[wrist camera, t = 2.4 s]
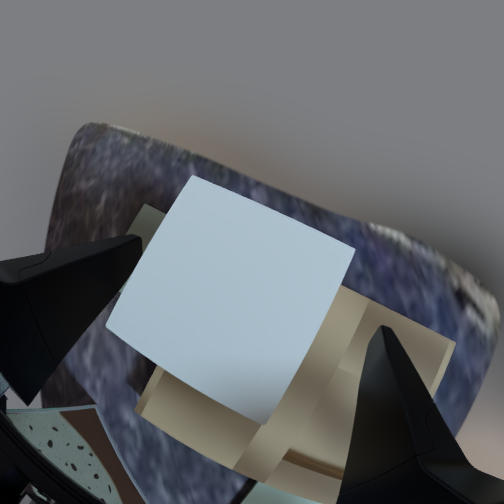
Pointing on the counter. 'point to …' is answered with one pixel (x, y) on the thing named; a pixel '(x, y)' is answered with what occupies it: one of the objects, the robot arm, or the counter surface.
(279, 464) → the puzzle board
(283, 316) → the tall white block
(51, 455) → the food container
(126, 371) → the counter surface
